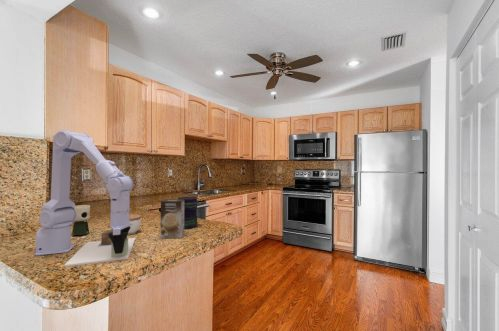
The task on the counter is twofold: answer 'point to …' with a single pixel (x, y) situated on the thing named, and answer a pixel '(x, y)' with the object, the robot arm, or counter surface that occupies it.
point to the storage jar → (190, 212)
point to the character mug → (81, 220)
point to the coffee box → (172, 218)
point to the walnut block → (106, 238)
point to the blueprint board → (97, 254)
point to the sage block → (125, 249)
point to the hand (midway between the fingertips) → (120, 250)
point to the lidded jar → (134, 223)
